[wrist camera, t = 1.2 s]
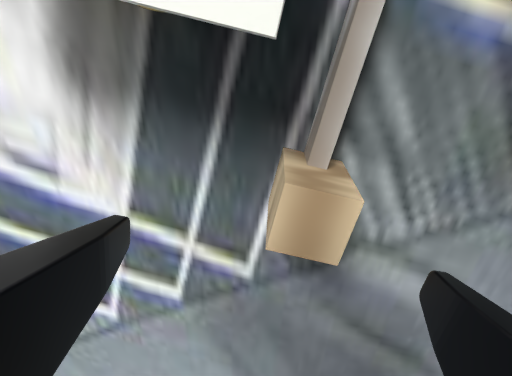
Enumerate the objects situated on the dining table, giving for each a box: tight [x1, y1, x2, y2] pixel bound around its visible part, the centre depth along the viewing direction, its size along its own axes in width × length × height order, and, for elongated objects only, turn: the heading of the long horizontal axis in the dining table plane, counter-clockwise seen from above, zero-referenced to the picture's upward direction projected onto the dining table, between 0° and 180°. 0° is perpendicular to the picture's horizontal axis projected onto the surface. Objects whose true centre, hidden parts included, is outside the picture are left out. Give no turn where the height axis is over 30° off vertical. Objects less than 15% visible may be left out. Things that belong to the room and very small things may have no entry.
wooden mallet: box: [266, 0, 385, 266], centre depth 17 cm, size 4×15×6 cm, turn 167°
